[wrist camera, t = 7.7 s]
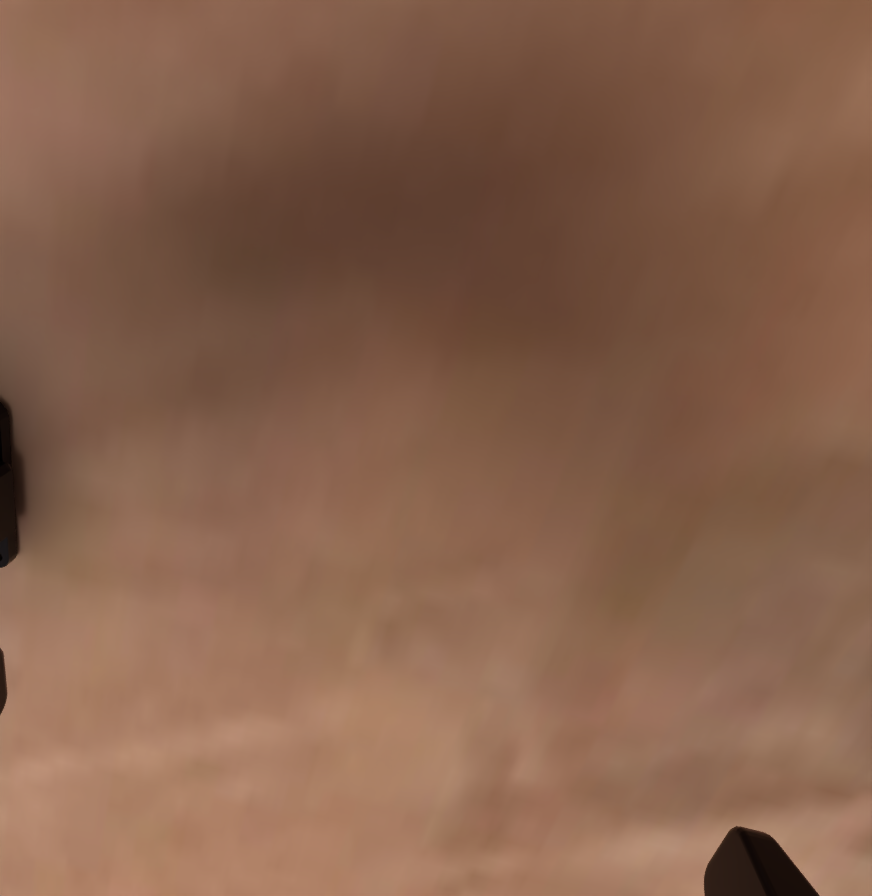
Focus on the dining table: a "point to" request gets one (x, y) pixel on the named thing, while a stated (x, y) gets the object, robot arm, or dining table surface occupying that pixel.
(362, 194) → the dining table surface
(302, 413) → the dining table surface
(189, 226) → the dining table surface
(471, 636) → the dining table surface
